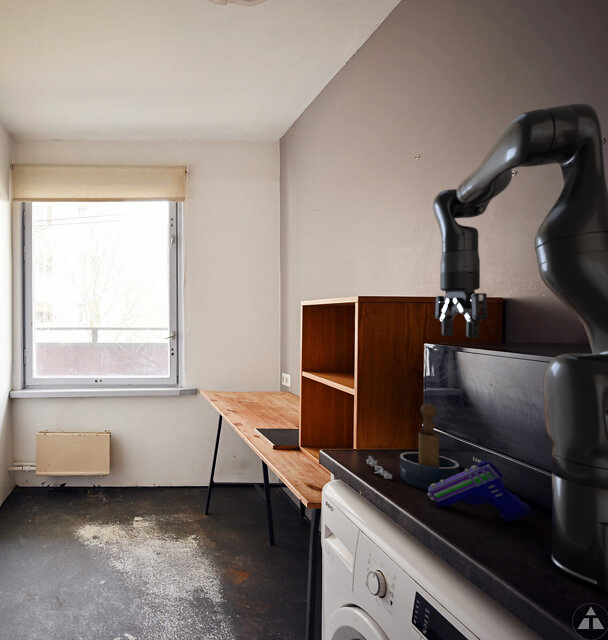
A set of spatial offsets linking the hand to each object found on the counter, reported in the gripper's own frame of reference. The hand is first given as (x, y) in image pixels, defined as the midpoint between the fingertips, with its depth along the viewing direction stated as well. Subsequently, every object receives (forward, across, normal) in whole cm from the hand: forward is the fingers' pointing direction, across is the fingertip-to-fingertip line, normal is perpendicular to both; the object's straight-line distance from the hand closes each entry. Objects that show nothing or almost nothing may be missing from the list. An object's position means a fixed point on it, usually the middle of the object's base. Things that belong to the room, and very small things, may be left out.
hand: (459, 337), depth 101 cm
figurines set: (+34, -3, -18) cm, 39 cm away
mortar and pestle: (+34, +5, -10) cm, 36 cm away
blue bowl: (+34, +5, -10) cm, 36 cm away
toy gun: (+34, +20, -10) cm, 41 cm away
